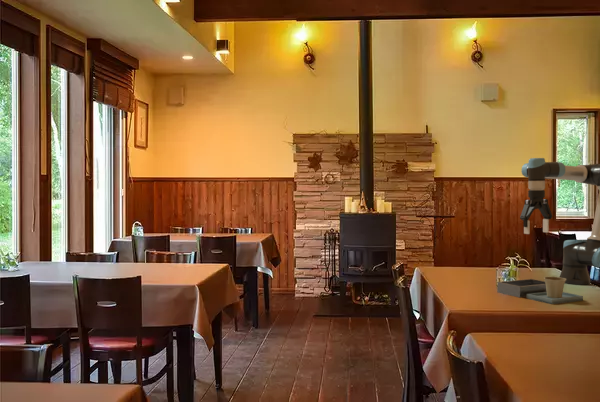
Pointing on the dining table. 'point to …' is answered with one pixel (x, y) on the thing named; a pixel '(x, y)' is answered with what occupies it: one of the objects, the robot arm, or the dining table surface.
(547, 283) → the flower pot
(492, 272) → the dining table surface
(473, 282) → the dining table surface
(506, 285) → the metal holder
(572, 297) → the tray
